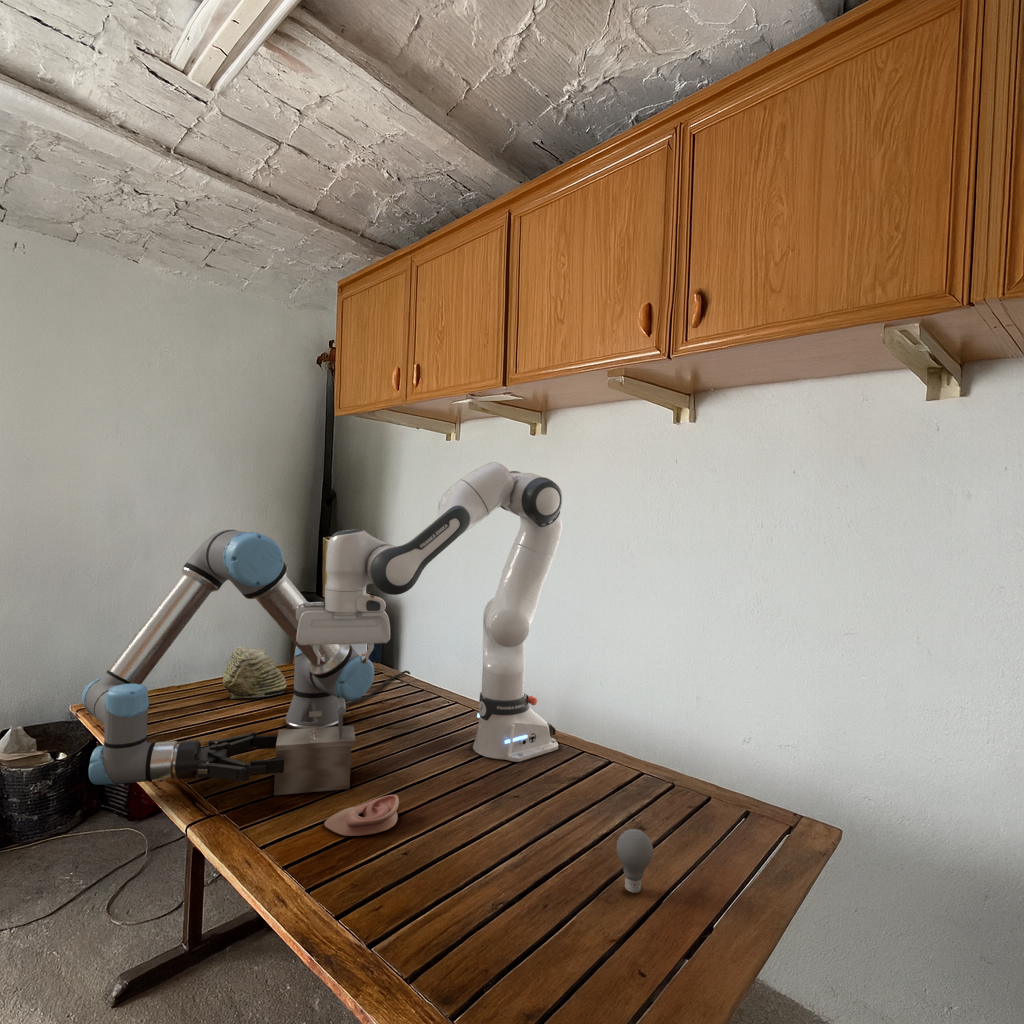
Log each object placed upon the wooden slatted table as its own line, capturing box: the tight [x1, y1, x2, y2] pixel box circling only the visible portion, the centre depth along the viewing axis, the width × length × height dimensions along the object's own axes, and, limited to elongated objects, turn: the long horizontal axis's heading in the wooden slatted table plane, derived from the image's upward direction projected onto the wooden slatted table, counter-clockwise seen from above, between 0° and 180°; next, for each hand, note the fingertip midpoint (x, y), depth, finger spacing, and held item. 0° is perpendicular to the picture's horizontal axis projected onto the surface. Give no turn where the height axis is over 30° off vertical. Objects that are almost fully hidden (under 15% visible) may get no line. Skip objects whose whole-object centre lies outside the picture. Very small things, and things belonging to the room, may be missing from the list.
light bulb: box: [615, 828, 654, 894], centre depth 106 cm, size 6×6×10 cm
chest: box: [273, 746, 352, 796], centre depth 140 cm, size 16×9×9 cm, turn 107°
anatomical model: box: [323, 794, 400, 837], centre depth 124 cm, size 13×4×12 cm
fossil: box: [222, 646, 288, 699], centre depth 198 cm, size 9×18×15 cm, turn 132°
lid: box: [275, 698, 356, 752], centre depth 140 cm, size 16×9×8 cm, turn 107°
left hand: (285, 752), depth 138 cm, fingers open, 13 cm apart
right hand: (343, 663), depth 141 cm, fingers open, 8 cm apart
